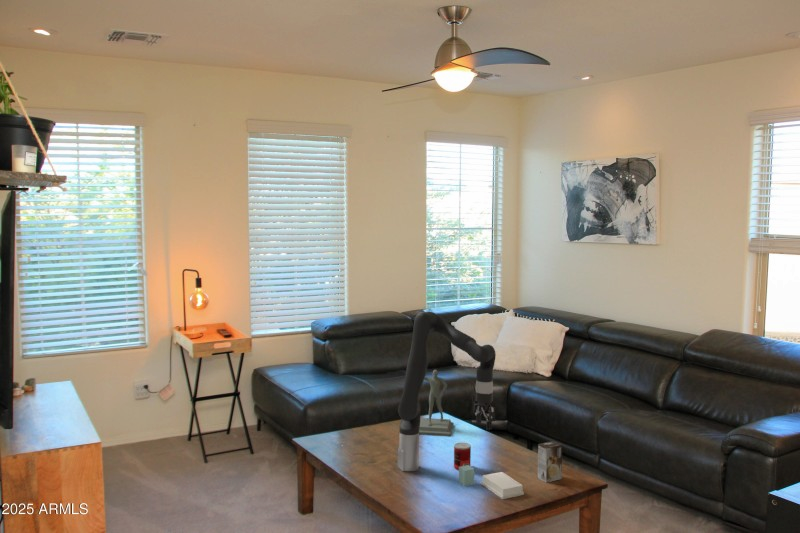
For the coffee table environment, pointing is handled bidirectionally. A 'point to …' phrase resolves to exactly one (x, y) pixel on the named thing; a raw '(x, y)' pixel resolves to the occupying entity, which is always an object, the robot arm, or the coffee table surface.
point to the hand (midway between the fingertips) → (483, 426)
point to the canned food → (462, 455)
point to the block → (466, 475)
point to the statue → (438, 425)
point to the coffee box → (549, 461)
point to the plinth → (502, 485)
